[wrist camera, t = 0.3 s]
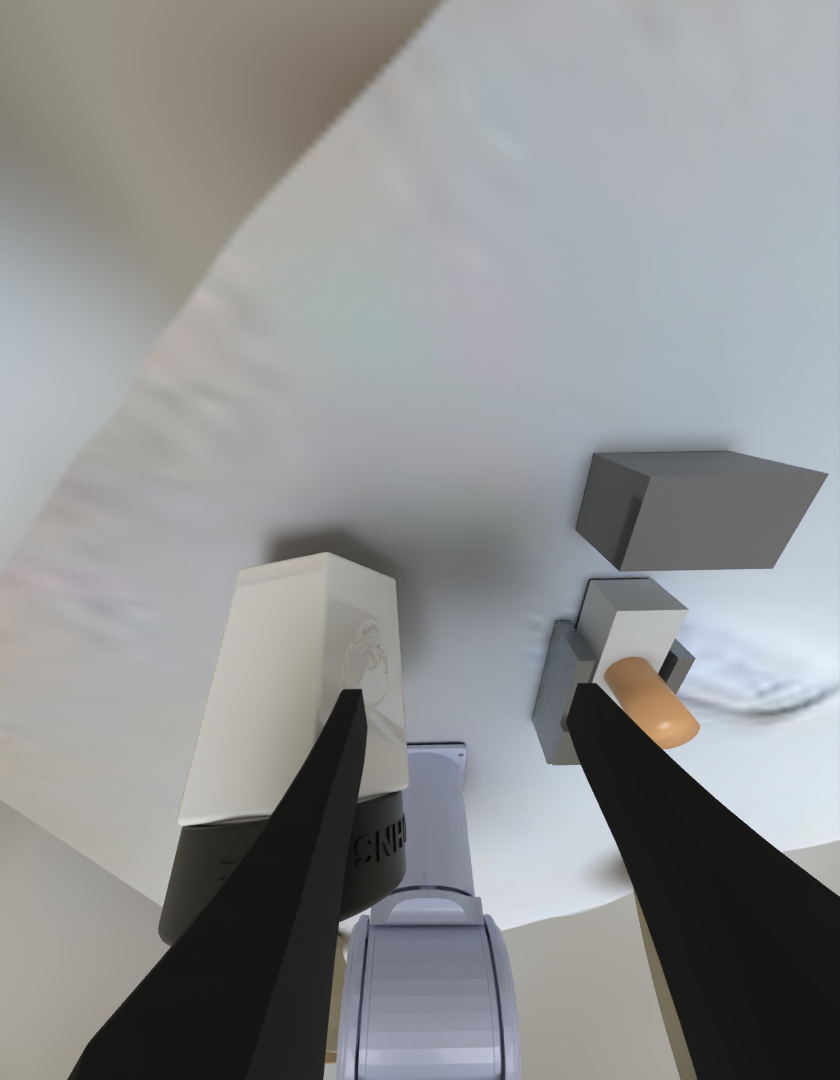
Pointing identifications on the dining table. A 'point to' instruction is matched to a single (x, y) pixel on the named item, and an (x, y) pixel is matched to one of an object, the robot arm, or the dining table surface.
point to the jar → (294, 725)
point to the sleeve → (560, 680)
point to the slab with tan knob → (636, 654)
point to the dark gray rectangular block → (693, 509)
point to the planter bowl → (335, 1004)
